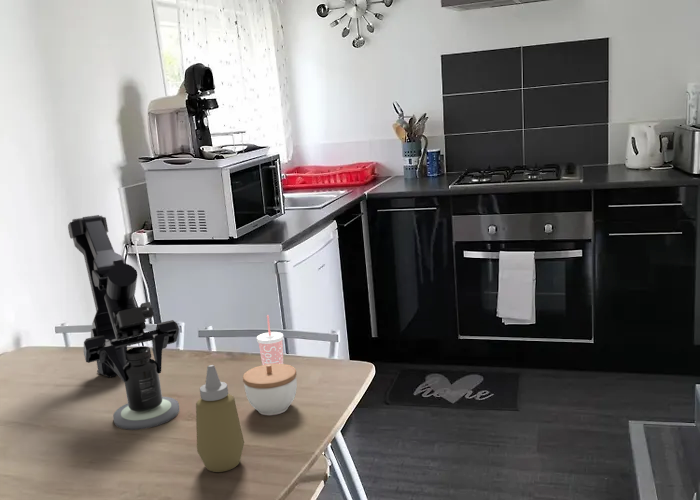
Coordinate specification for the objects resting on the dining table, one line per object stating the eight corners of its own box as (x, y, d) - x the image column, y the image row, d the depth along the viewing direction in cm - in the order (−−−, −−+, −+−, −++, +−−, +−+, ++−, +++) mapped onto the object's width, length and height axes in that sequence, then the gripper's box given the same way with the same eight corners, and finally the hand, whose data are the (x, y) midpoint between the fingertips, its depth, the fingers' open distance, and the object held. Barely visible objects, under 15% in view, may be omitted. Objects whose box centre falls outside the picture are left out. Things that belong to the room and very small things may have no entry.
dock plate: (158, 396, 150) (157, 390, 149) (191, 411, 141) (191, 404, 141) (102, 418, 141) (101, 412, 140) (134, 435, 132) (133, 429, 131)
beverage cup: (255, 376, 157) (249, 318, 154) (268, 367, 162) (262, 310, 160) (279, 379, 155) (272, 319, 152) (291, 369, 160) (285, 311, 157)
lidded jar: (308, 410, 137) (304, 366, 135) (259, 425, 132) (254, 380, 130) (285, 393, 146) (281, 352, 144) (238, 407, 141) (233, 364, 139)
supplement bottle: (166, 397, 144) (159, 343, 142) (158, 411, 137) (151, 354, 135) (133, 399, 144) (125, 345, 141) (124, 413, 137) (116, 357, 135)
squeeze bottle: (202, 455, 122) (190, 360, 118) (247, 450, 122) (237, 355, 119) (196, 479, 114) (182, 377, 110) (244, 473, 115) (233, 372, 111)
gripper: (77, 300, 135) (95, 370, 127) (170, 283, 143) (193, 347, 136) (76, 329, 143) (94, 395, 136) (165, 310, 152) (186, 372, 145)
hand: (142, 376), depth 138 cm, fingers closed on supplement bottle, 7 cm apart
